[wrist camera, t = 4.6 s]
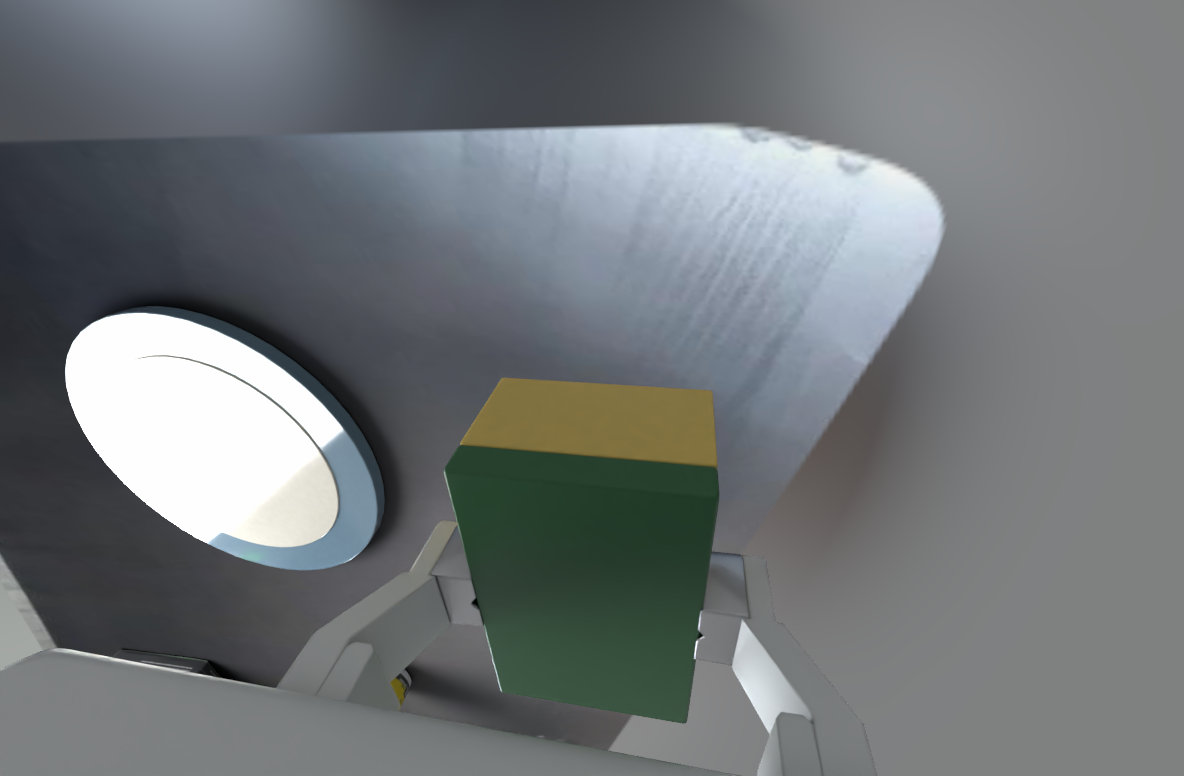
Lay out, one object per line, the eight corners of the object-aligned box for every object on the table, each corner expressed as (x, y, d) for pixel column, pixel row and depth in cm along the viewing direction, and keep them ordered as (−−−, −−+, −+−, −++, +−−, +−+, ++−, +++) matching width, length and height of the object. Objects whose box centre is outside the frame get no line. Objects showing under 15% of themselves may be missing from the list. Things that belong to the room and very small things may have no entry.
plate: (11, 299, 27) (-11, 305, 26) (328, 312, 24) (314, 320, 23) (178, 543, 38) (166, 553, 37) (415, 576, 34) (409, 588, 33)
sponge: (501, 376, 12) (441, 469, 9) (712, 389, 11) (720, 497, 8) (533, 584, 16) (499, 692, 13) (687, 605, 15) (686, 725, 12)
